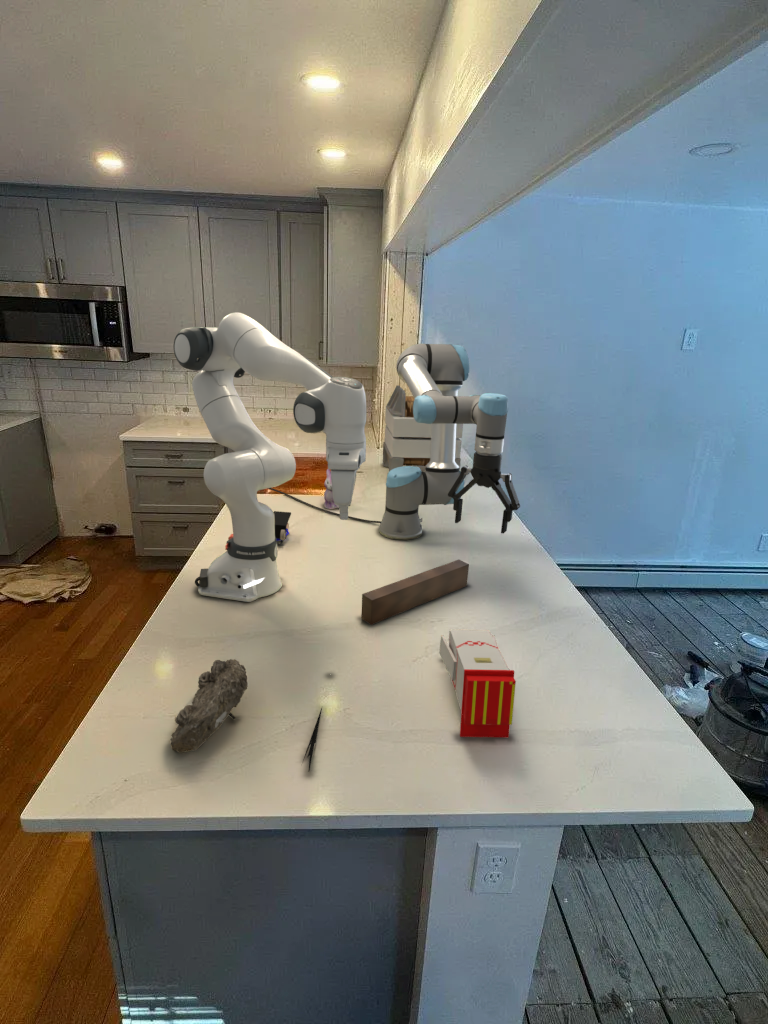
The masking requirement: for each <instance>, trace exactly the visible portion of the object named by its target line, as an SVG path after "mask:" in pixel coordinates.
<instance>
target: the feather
mask: <svg viewBox="0 0 768 1024" xmlns="http://www.w3.org/2000/svg"><path fill="white" fill-rule="evenodd" d="M329 675H330V676H331V675H332V674H331V673H330V674H329ZM322 710H323V707H321V708H320V710H319V713H318V716H317V719H316V723H315V725H314V728H313V731H312V733H311V737H310V739H309V742H308V745H307V748H306V751H305V754H304V757H303V760H302V763H301V767H302V765H303V763H304V761H305V758H308V759H309V760H308V762H307V763H308V764H307V766H308V771H310V770H311V766H312V765H311V764H312V760H313V757H315V756H314V755H315V751H316V749H315V746H317V739H318V733H319V729H320V722H321V717H322V712H323V711H322ZM313 754H314V755H313ZM306 755H307V757H306Z"/></svg>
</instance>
